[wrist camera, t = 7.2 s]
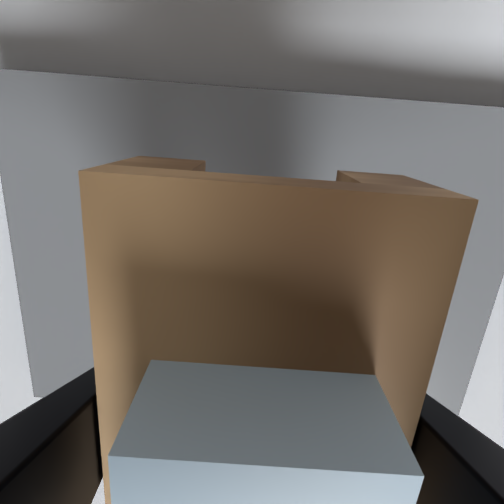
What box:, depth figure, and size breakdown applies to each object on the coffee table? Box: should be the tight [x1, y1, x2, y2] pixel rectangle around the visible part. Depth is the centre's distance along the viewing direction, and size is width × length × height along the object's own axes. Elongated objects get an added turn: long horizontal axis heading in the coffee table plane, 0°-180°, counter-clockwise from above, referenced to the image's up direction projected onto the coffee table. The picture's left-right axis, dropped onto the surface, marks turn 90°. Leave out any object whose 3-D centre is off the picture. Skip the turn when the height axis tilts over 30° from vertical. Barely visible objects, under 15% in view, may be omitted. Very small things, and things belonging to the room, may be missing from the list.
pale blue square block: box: [108, 360, 424, 504], centre depth 6 cm, size 4×4×2 cm
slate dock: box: [0, 69, 504, 416], centre depth 16 cm, size 20×14×2 cm
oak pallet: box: [78, 156, 479, 504], centre depth 8 cm, size 6×10×3 cm, turn 176°
